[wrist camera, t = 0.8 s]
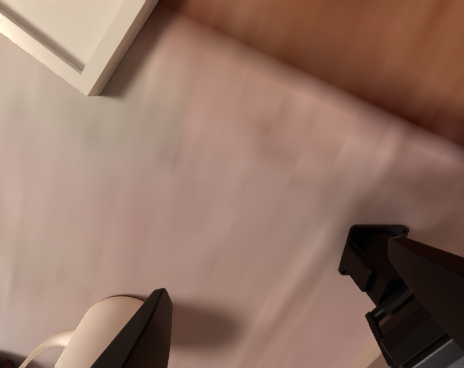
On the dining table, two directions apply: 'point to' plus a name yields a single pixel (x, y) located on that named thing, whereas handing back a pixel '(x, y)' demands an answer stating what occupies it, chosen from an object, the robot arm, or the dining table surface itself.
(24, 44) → the white tray
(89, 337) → the mug
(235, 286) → the dining table surface
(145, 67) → the dining table surface
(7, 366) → the dark lumpy post
